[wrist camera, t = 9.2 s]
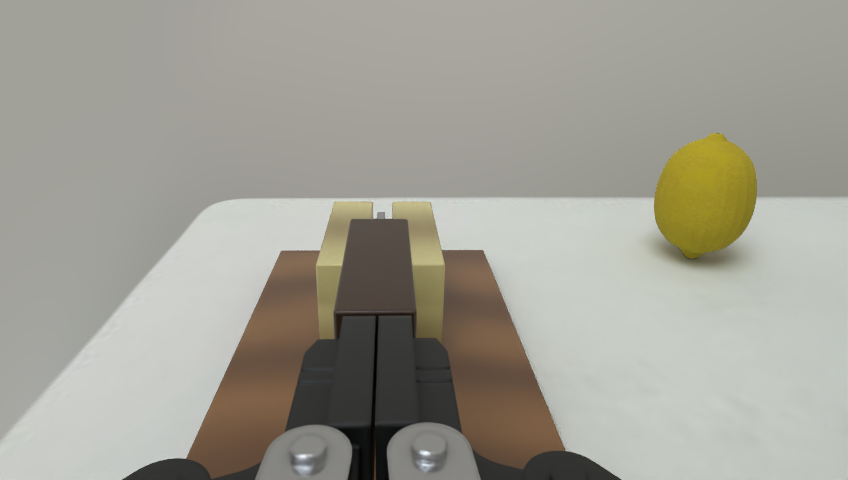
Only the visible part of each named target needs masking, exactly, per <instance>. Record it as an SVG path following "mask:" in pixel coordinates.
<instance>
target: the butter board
mask: <svg viewBox="0 0 848 480" xmlns="http://www.w3.org/2000/svg"><path fill="white" fill-rule="evenodd" d="M351 219H373V202H334V205H333V208H332V212H331V215H330V219H329V222H328V225H327V229H326V232H325V236H324V239H323V243H322V246H321V250H320V251H281V253H280V255H279V257H278V259H277V261H276V263H275V266H274V268H273V270H272V272H271V274H270V277H269V279H268V281H267V283H266V285H265V288H264V290H263V292H262V294H261V296H260V298H259V301H258V303H257V305H256V307H255V309H254V312H253V314H252V316H251V318H250V320H249V322H248V325H247V327H246V329H245V331H244V333H243V336H242V338H241V340H240V342H239V344H238V347H237V349H236V351H235V353H234V355H233V357H232V360H231V362H230V364H229V366H228V368H227V371H226V373H225V375H224V377H223V379H222V382H221V384H220V386H219V388H218V390H217V392H216V395H215V397H214V399H213V401H212V403H211V406H210V408H209V410H208V412H207V414H206V416H205V419H204V421H203V423H202V425H201V427H200V430H199V432H198V434H197V436H196V438H195V441H194V443H193V445H192V447H191V449H190V451H189V454H188V456H187V458H186V459H189V460H193V461H196V462H198V463H200V464H202V465H203V466H204V467H205V468H206V469H207V471H208V472H209V474H210V478H211V479H213V478H217V477H221V476H224V475H228V474H232V473H235V472H239V471H242V470H245V469H248V468H250V467H252V466H254V465H256V464H258V463H260V462H262V460H263V458H264V455H265V453H266V451H267V449H268V447H269V446H270V444H271V443H272V442H273V441H274V440H275V439H276V438H277V437H279V436H280V435H282V434H283V433H285V429H286V425H287V421H288V417H289V413H290V409H291V405H292V401H293V397H294V393H295V389H296V385H297V381H298V377H299V373H300V371H301V365H302V361H303V357H304V353H305V352H306V351H307V350H308V349H309V348H310V347H311V346H312V345H313V344H314V343H315V342H316V341H317V340H318V339H334V319H333V312H334V306H335V301H336V296H337V290H338V285H339V279H340V274H341V269H342V263H343V258H344V252H345V247H346V241H347V236H348V231H349V225H350V221H351ZM392 219H407V220H408V227H409V237H410V247H411V257H412V267H413V278H414V288H415V298H416V308H417V334H416V338H436V339H437V340H438V341H439V342H440V343H441V344H442V345H443V346H444V348H445V349H446V350H447V351H448V356H449V361H450V370H451V373H452V378H453V384H454V390H455V395H456V401H457V407H458V412H459V418H460V424H461V429H462V433H463V435H464V436H465V437H466V439H467V440H468V442H469V443H470V446H471V448H472V449H473V450H474V451H475V452H477V453H478V454H479V455H481V456H483V457H484V458H486V459H488V460H490V461H493V462H495V463H499V464H502V465H507V466H511V467H515V468H520V469H524V467H525V465H526V464H527V462H528V461H529V460H530V459H531V458H533V457H534V456H536V455H538V454H541V453H543V452H548V451H565V448H564V446H563V444H562V441H561V439H560V436H559V434H558V431H557V429H556V427H555V424H554V422H553V419H552V417H551V414H550V412H549V410H548V407H547V405H546V402H545V400H544V397H543V395H542V392H541V390H540V388H539V385H538V383H537V380H536V378H535V375H534V373H533V371H532V368H531V366H530V363H529V361H528V358H527V356H526V354H525V351H524V349H523V346H522V344H521V341H520V339H519V336H518V334H517V332H516V329H515V327H514V324H513V322H512V319H511V317H510V315H509V312H508V310H507V307H506V305H505V302H504V300H503V298H502V295H501V293H500V290H499V288H498V285H497V283H496V280H495V278H494V276H493V273H492V271H491V268H490V266H489V263H488V261H487V259H486V256H485V254H484V251H483V250H441V245H440V241H439V237H438V232H437V228H436V224H435V219H434V215H433V211H432V207H431V203H430V202H393V203H392ZM374 480H376V459H375V469H374Z"/></svg>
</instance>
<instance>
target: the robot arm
mask: <svg viewBox="0 0 848 480" xmlns="http://www.w3.org/2000/svg"><path fill="white" fill-rule="evenodd" d="M375 459H376V480H621V479H620V478H618V477H617V476H615V475H613V474H612V473H610V472H609V471H607V470H606V469H604V468H603V467H601V466H600V465H598V464H597V463H595V462H593V461H592V460H590V459H588V458H586V457H584V456H581V455H579V454H576V453H572V452H567V451H548V452H543V453H541V454H538V455H536V456H534V457H533V458H531V459H530V460H529V461H528V462H527V464H526V465H525V467H524V469H520V468H515V467H511V466H507V465H502V464H499V463H495V462H493V461H490V460H488V459H486V458H484V457H483V456H481V455H479V454H478V453H477V452H475V451H474V450H473V449H472V448H471V446H470V443H469V442H468V440H467V439H466V437H465V436H464V435H463V433H462V429H461V424H460V418H459V412H458V407H457V401H456V395H455V390H454V384H453V378H452V373H451V370H450V361H449V356H448V351H447V350H446V349H445V348H444V346H443V345H442V344H441V343H440V342H439V341H438V340H437V339H436V338H413V329H412V316H379V323H378V353H377V352H376V316H343V318H342V324H341V330H340V337H339V339H318V340H317V341H316V342H315V343H314V344H313V345H312V346H311V347H310V348H309V349H308V350H307V351H306V352H305V353H304V357H303V361H302V365H301V371H300V373H299V377H298V381H297V385H296V389H295V393H294V397H293V401H292V405H291V409H290V413H289V417H288V421H287V425H286V429H285V433H283V434H282V435H280V436H279V437H277V438H276V439H275V440H274V441H273V442H272V443H271V444H270V446H269V447H268V449H267V451H266V453H265V455H264V458H263V460H262V462H260V463H258V464H256V465H254V466H252V467H250V468H248V469H245V470H242V471H239V472H235V473H232V474H228V475H224V476H221V477H217V478H213V479H211V478H210V474H209V472H208V471H207V469H206V468H205V467H204V466H203V465H202V464H200V463H198V462H196V461H193V460H189V459H167V460H162V461H158V462H155V463H152V464H149V465H147V466H145V467H143V468H141V469H139V470H137V471H135V472H134V473H132V474H131V475H129V476H127V477H126V478H124V479H123V480H374V469H375Z"/></svg>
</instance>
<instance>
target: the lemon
mask: <svg viewBox="0 0 848 480" xmlns="http://www.w3.org/2000/svg"><path fill="white" fill-rule="evenodd" d="M756 195H757V180H756V173H755V168H754V165H753V163H752V161H751V159H750V158H749V156H748V155H747V154H746V153H745V152H744V151H743V150H742V149H741V148H739V147H738V146H736V145H735V144H733V143H731V142H729V141H727V139H726V138H725V136H724V135H723V134H719V133H712V134H710V135H709V136H708V137H706V138H705V139H700V140H697V141H694V142H691V143H689V144H687V145H686V146H684V147H682V148H681V149H679V150H678V151H677V152H676V153H674V154H673V156H672V157H671V158H670V159H669V161H668V162H667V164H666V165H665V167H664V169H663V171H662V173H661V176H660V178H659V181H658V184H657V188H656V192H655V201H654V212H655V219H656V223H657V225H658V227H659V229H660V231H661V233H662V234H663V235H664V236H665V238H666V239H667V240H668V241H669V242H671V243H672V244H673V245H675V246H677V247H679V248H680V249H681V251H682V252H683V254H684V255H685V256H686V257H687V258H690V259H696V258H698V257H699V256H701V255H703V254H704V253H707V252H714V251H717V250H720V249H723V248H725V247H727V246H729V245H730V244H731V243H733V242H734V241H735V240H736V239H737V238H738V237H739V236H741V234H742V233H743V232H744V231H745V229H746V227H747V226H748V224H749V222H750V220H751V217H752V215H753V212H754V208H755V203H756Z"/></svg>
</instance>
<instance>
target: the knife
mask: <svg viewBox="0 0 848 480" xmlns="http://www.w3.org/2000/svg"><path fill="white" fill-rule="evenodd" d="M343 316H376V352H377V353H378V323H379V316H412V329H413V338H416V334H417V308H416V298H415V288H414V278H413V267H412V257H411V247H410V237H409V227H408V220H407V219H385V212H378V213H377V219H351V221H350V225H349V231H348V236H347V241H346V247H345V252H344V258H343V263H342V269H341V274H340V279H339V285H338V290H337V296H336V301H335V306H334V312H333V319H334V339H339V337H340V330H341V324H342V318H343Z"/></svg>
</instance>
